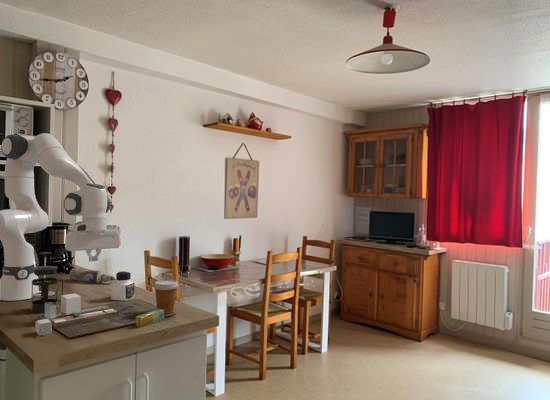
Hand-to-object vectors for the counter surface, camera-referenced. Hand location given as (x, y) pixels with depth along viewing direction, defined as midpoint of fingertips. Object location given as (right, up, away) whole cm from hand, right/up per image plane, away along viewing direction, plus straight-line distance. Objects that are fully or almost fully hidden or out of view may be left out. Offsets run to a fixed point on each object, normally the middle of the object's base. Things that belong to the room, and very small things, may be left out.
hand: (93, 261), depth 161 cm
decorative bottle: (-26, -20, +55) cm, 64 cm away
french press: (-21, -20, +4) cm, 30 cm away
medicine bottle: (+2, -21, +25) cm, 32 cm away
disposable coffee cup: (+26, -22, +7) cm, 35 cm away
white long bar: (-4, -19, -4) cm, 20 cm away
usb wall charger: (-6, -21, -23) cm, 32 cm away
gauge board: (-3, -21, -4) cm, 21 cm away
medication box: (+25, -22, -8) cm, 34 cm away
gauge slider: (-5, -19, -7) cm, 20 cm away
